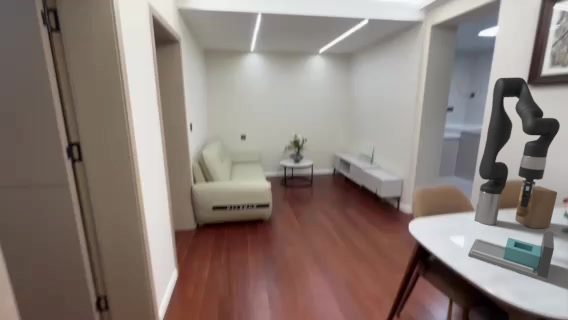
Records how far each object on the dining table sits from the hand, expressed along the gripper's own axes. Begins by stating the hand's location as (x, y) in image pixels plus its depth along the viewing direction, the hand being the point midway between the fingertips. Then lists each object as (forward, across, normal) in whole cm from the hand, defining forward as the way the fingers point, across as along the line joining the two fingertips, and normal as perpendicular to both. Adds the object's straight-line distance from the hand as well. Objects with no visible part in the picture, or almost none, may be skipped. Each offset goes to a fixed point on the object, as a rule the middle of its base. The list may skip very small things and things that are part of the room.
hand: (524, 204), depth 111 cm
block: (+21, +36, -4) cm, 42 cm away
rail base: (+21, -13, +2) cm, 25 cm away
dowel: (+5, 0, 0) cm, 5 cm away
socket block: (+19, -13, -2) cm, 23 cm away
